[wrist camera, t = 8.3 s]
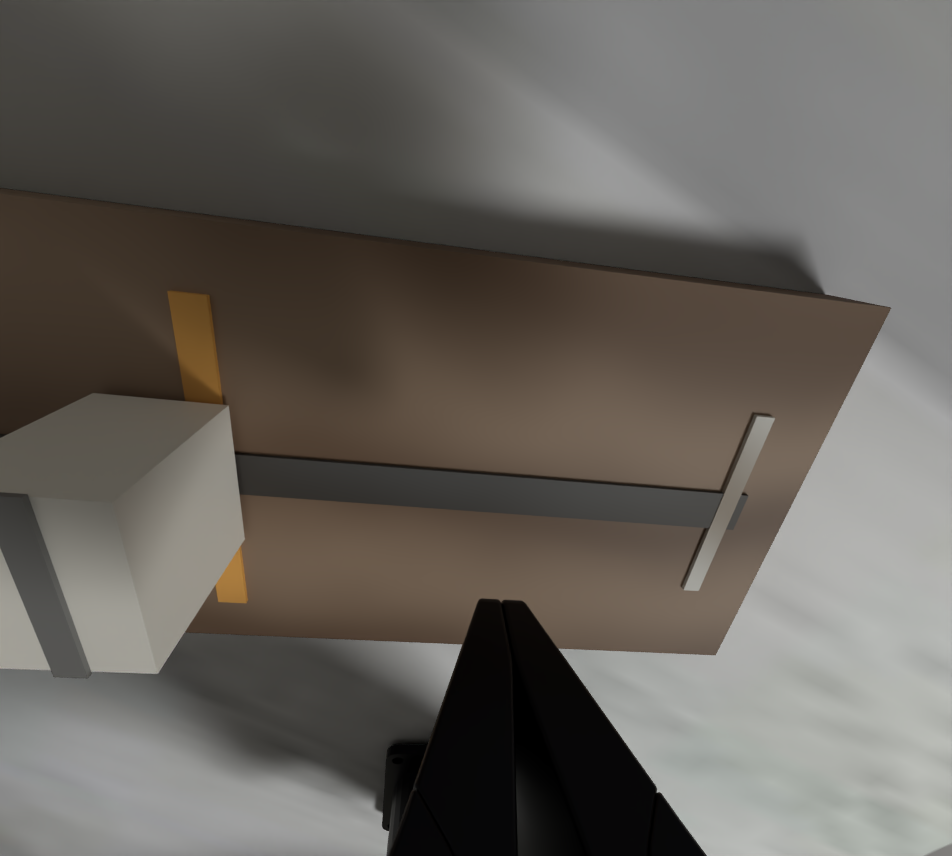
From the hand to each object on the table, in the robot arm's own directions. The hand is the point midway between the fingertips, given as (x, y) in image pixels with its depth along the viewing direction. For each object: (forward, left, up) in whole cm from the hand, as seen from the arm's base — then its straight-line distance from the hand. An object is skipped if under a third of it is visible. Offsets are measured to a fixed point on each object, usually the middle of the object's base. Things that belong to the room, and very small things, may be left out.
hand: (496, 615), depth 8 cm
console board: (0, +7, -6) cm, 9 cm away
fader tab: (0, +8, -4) cm, 9 cm away
